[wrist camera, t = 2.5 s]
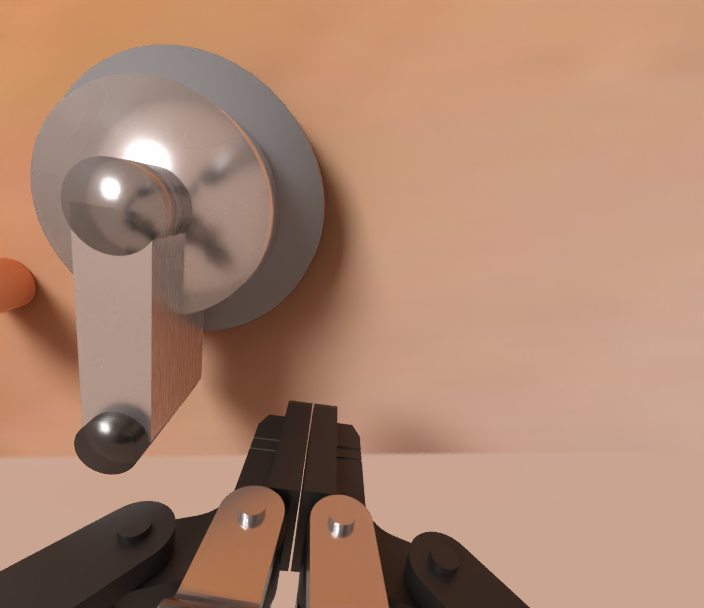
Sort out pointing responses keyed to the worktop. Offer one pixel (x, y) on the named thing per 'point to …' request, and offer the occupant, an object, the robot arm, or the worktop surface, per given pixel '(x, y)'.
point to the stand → (281, 152)
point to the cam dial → (147, 243)
